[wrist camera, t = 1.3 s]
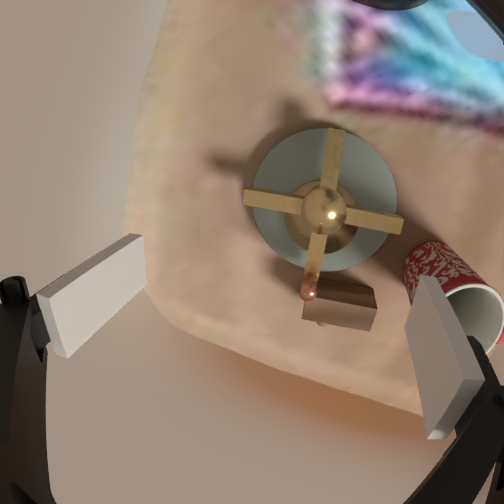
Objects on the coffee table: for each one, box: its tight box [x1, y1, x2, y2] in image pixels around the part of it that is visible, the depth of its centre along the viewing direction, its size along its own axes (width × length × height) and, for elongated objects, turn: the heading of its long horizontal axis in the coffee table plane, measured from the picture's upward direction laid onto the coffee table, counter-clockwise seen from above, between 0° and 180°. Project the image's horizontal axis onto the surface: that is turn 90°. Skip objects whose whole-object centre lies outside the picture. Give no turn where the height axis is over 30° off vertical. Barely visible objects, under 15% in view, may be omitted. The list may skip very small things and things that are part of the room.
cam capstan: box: [242, 128, 404, 301], centre depth 31 cm, size 16×16×7 cm
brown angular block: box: [302, 278, 377, 332], centre depth 37 cm, size 4×8×5 cm, turn 83°
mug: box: [403, 241, 504, 354], centre depth 29 cm, size 13×9×14 cm
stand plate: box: [252, 128, 397, 272], centre depth 35 cm, size 16×16×2 cm
